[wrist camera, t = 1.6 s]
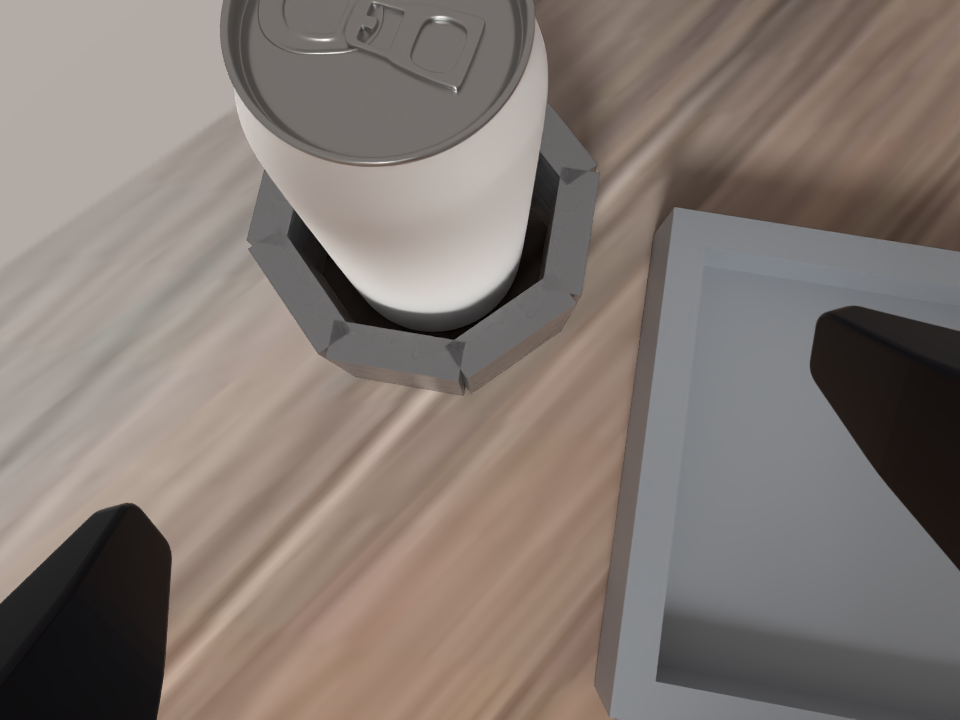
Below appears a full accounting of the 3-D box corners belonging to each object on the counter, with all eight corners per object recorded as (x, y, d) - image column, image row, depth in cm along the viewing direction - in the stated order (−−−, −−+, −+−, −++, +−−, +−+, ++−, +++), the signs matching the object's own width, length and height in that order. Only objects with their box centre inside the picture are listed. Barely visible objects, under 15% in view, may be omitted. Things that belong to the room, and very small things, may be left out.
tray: (1086, 778, 19) (1175, 826, 17) (594, 684, 20) (609, 717, 17) (1089, 304, 22) (1167, 284, 19) (653, 235, 22) (674, 207, 20)
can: (386, 149, 23) (279, -179, 11) (544, 201, 23) (607, -83, 11) (324, 302, 22) (134, 119, 10) (487, 359, 22) (488, 238, 10)
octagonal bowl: (551, 410, 21) (565, 400, 17) (270, 362, 22) (221, 340, 18) (591, 145, 23) (613, 80, 19) (330, 105, 23) (298, 34, 19)
